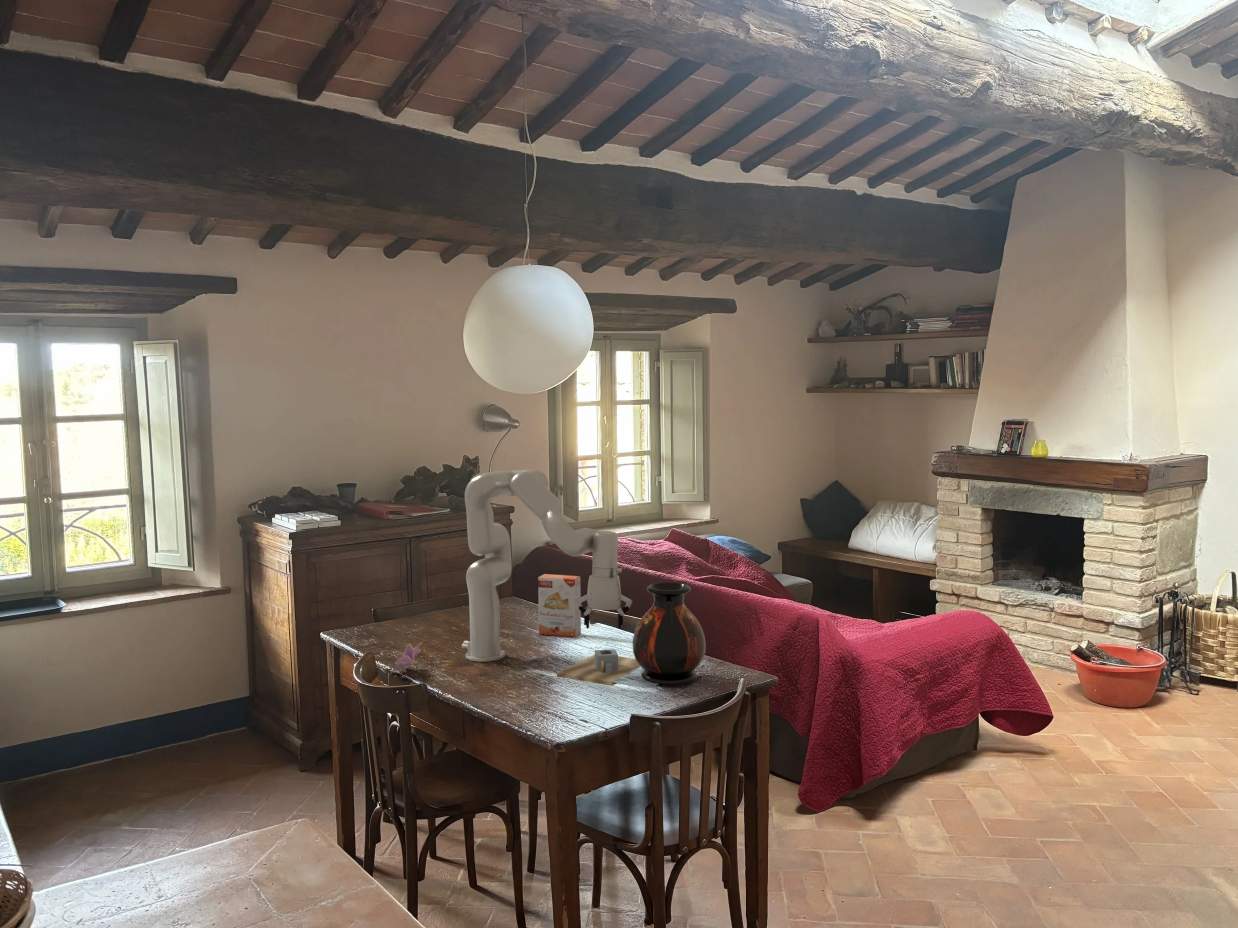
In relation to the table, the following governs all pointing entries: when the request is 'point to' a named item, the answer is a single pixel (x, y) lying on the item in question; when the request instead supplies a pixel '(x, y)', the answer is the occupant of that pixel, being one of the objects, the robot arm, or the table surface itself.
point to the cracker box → (559, 605)
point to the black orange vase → (669, 638)
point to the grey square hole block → (606, 660)
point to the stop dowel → (602, 666)
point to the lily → (407, 657)
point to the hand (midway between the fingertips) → (603, 627)
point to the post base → (589, 673)
